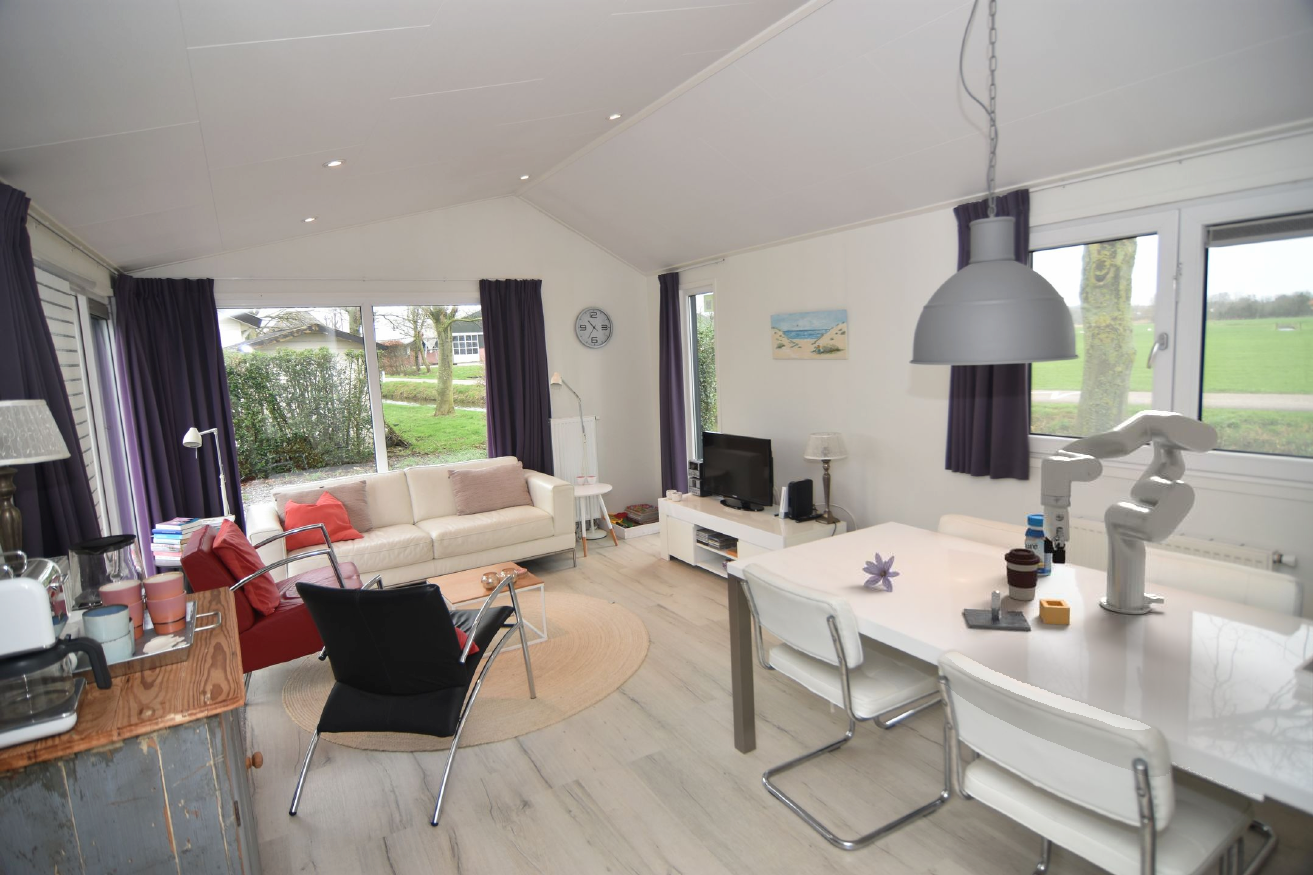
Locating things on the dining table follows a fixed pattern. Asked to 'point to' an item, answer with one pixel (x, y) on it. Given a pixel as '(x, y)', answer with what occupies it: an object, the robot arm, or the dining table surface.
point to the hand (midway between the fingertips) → (1054, 558)
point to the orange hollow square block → (1054, 611)
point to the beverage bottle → (1038, 543)
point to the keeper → (996, 617)
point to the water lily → (880, 572)
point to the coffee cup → (1022, 573)
